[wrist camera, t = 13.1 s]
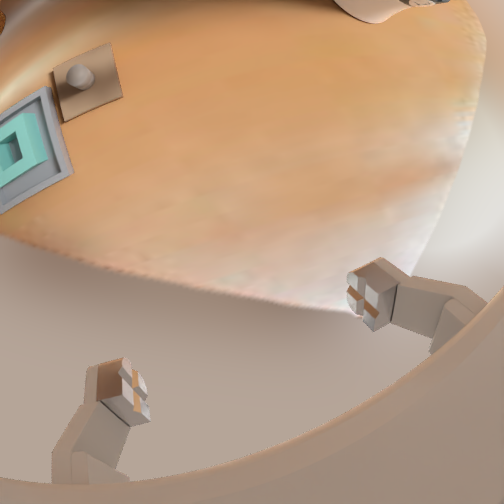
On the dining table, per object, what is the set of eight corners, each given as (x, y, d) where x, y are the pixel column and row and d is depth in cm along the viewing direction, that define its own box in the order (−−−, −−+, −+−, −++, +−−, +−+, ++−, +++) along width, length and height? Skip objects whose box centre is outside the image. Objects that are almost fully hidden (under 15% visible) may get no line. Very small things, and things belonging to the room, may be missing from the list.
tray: (-17, 132, 18) (-24, 133, 17) (51, 87, 20) (44, 85, 19) (7, 209, 24) (1, 214, 22) (74, 172, 26) (69, 175, 24)
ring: (-2, 138, 19) (-17, 140, 16) (34, 113, 20) (22, 112, 18) (11, 182, 22) (-2, 188, 19) (48, 159, 23) (36, 163, 20)
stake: (55, 69, 20) (40, 61, 15) (111, 44, 21) (104, 31, 17) (67, 121, 23) (52, 121, 19) (123, 97, 24) (117, 91, 20)
